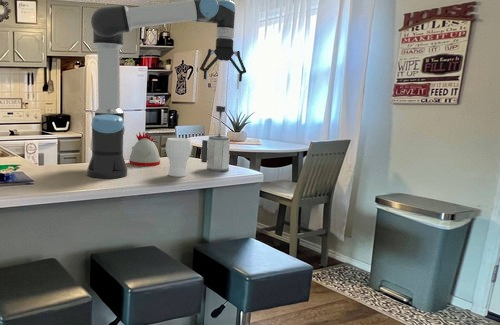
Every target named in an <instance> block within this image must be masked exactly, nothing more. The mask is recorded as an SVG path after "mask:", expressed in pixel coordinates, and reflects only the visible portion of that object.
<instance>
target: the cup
mask: <svg viewBox="0 0 500 325" xmlns="http://www.w3.org/2000/svg"><path fill="white" fill-rule="evenodd" d="M192 147H193V145H192V140H191V139H190V138H185V137H168V138H167V139H166V143H165V153H166V155H167V158H168V161H169V169H168V176H171V177H178V178H179V177H181V178H182V177H187V176H188V170H187V169H188V168H187V164H188V160H189V158H190V157H191V153H192V150H193V149H192Z"/></svg>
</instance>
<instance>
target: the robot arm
mask: <svg viewBox="0 0 500 325" xmlns="http://www.w3.org/2000/svg"><path fill="white" fill-rule="evenodd" d="M235 15H236V4H235V1H234V2H233V1H232V0H218V1H217V0H183V1H182V0H181V1H174V2H168V3H167V2H165V3H158V4H150V5H141V6H134V7H128V6H127V5H117V6H115V5H114V6H103V7H99V8H97V9H96V10H94V12H93V13H92V15H91V18H90V24H91V28H92V35H93V38H92V39H93V41H92V42H93V45H94V46H95V47H96V50H97V92H98V94H97V96H98V99H97V101H98V102H97V103H98V108H97V109H95V111H94V116H93V117H92V122H91V132H92V133H91V137H92V138H91V141H92V142H91V157H90V159H89V160H90V161H89V164H88V167H87V170H86V172H87V173H86V175H87V176H88V177H92V178H97V179H117V178H122V177H126V176H128V167H127V164H126V161H125V158H124V135H125V122H124V121H125V118H124V116H125V113H124V111H123V110H122V109H121V98H120V97H121V90H120V89H121V88H120V86H121V84H120V81H121V80H120V78H121V76H120V74H121V73H120V68H121V67H120V50H121V49H122V48H123V47H124V33H128V32H129V33H130V32H132V30H133V29H140V28H145V27H153V26H160V25H168V24H176V23H183V22H184V23H185V22H190V21H191V22H196V23H205V24H206V23H208V24H216V33H215V34H216V36H215V37H216V40H215V48H214V49H211V48H208V51H207V55H206V56H205V58H204V60H203V62H202V63H201V66H200V67H199V70H200V71H202V72H203V80H205V88H209V74H210V73H209V70H210V69H211V68H212V67H213V65H215V63H216V62H217V61H218V60H219V61H225V62H228V61H229V62H230V63H231V64H232V65H233V68H235V70H236V71H237V72H238V74H237V80H236V90H239V87H240V82H242V79H243V75H244V74H246V73H247V70H246V66H245V65H244V62H243V60H242V58H241V52H240V50H237V51H235V50H234V37H235V18H236V16H235ZM213 54H215V57H214V58H213V59H212V61H210V63H209V64H207V63H208V61H209V59H210V58H211V56H212V55H213ZM233 55H235V57H237V60H238V62H239V64H240V67H241V69H242V70H241V69H240V67H239V66H238V65H237V63H236V62H235V60H234V59H233V58H232V57H233Z"/></svg>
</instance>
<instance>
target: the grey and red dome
mask: <svg viewBox="0 0 500 325" xmlns="http://www.w3.org/2000/svg"><path fill="white" fill-rule="evenodd" d="M135 136H136V138H137V142H135V144H134V145H133V146H132V147H131V152H130V155H129V158H128V159H129V160H128V161H129V162H128V163H129V165H131V166H135V167H136V166H137V167H156V166H159V165H161V158H160V153H159V150H158V148H157V145H156V144H155V143H154V142H153V141H154V139H155V136H153V137H152V138H151V136H152V134H151V133H150V134H149V133H148V131H146V134H145V131H143V133H141V131H139V133H138V134H137V133H136V134H135Z"/></svg>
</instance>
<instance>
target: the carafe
mask: <svg viewBox="0 0 500 325" xmlns="http://www.w3.org/2000/svg"><path fill="white" fill-rule="evenodd" d="M201 142H202V143H201V144H202V145H201V160H200V161H201V163H206V170H207V171H211V172H218V173H220V172H223V173H224V172H228V171H229V170H230V169H229V162H230V144H231V143H230V142H231V140H230V136H227V135H220V137H218V135H209V136H208V139H207V140H206V139H202V141H201Z"/></svg>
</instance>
